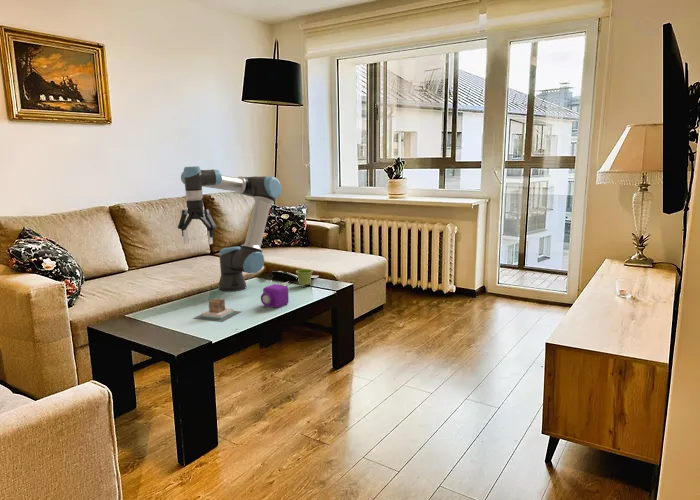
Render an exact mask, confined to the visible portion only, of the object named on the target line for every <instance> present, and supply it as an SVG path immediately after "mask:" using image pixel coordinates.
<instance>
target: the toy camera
mask: <svg viewBox="0 0 700 500" xmlns="http://www.w3.org/2000/svg"><path fill="white" fill-rule="evenodd" d="M262 291H263V292H262V294H260V295H261V296H260V301H261V304H262V305H263V306H265V307H270V308H276V309H277V308H280V307H284V306H286V305H287V304H289V303H290V302H289V287H288V285H286V286H284V284H282V285H280V284H276V283H275V284H271V285H267V286H265V287H264V288H263V289H262Z"/></svg>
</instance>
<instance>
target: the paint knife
mask: <svg viewBox="0 0 700 500" xmlns="http://www.w3.org/2000/svg"><path fill="white" fill-rule="evenodd" d="M311 278H314V279H317V278H319V275H314V274H313V275H311ZM288 282H289V281H285V282H284V283H283V282H281V283H280V284H279V285H282V284H286V283H288Z"/></svg>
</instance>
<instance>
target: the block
mask: <svg viewBox="0 0 700 500" xmlns="http://www.w3.org/2000/svg"><path fill="white" fill-rule="evenodd" d="M225 308H226V301H225V299H224V298H213V299H211V300H209V301H208V310H209V312H214V313H220V312H222V311H224V310H225Z"/></svg>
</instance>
